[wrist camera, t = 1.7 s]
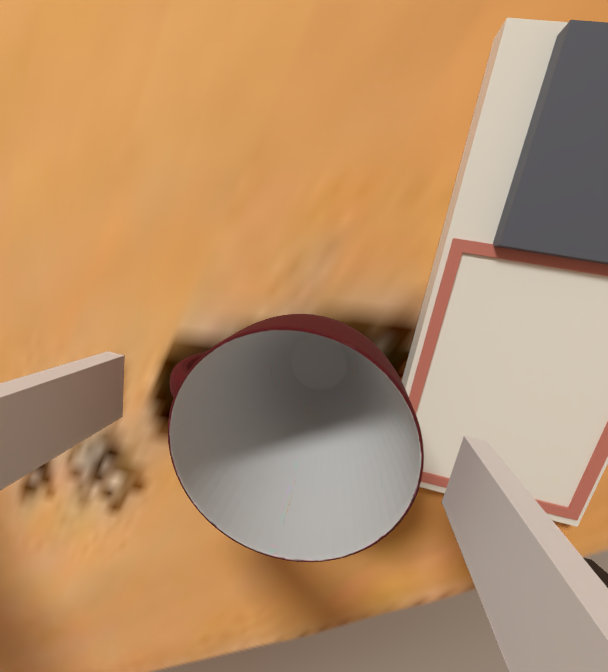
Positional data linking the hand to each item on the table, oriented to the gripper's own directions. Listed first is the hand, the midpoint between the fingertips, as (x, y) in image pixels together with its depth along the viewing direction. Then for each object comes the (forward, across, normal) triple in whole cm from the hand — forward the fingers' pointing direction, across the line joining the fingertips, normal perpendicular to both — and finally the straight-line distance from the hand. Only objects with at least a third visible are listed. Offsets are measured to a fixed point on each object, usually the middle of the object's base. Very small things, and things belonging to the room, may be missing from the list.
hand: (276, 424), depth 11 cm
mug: (+8, 0, 0) cm, 8 cm away
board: (+8, +12, +6) cm, 16 cm away
